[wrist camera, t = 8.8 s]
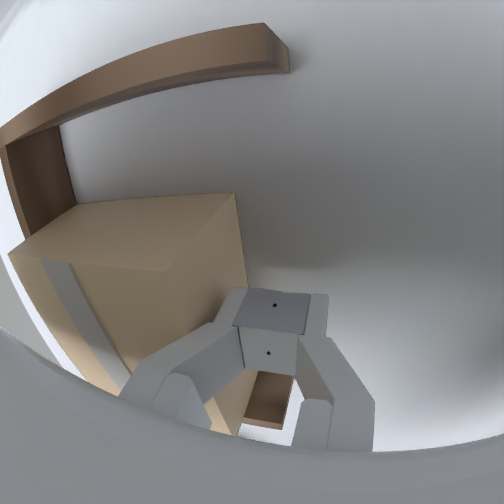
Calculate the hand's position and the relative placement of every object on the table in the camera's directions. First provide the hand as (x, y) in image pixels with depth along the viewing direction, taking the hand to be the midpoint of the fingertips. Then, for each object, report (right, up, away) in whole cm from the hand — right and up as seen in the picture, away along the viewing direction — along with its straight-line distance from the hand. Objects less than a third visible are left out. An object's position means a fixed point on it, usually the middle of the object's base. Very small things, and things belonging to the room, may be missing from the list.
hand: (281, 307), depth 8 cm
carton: (-5, 0, +4) cm, 6 cm away
